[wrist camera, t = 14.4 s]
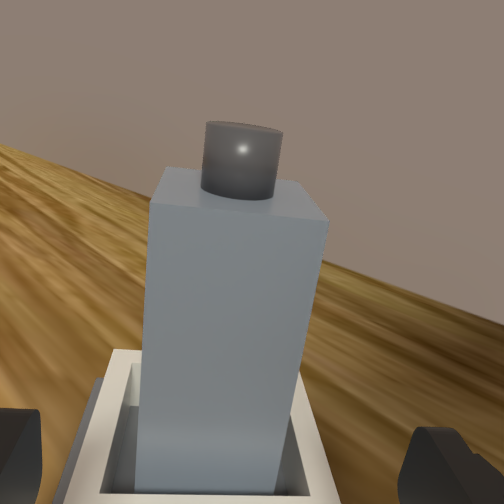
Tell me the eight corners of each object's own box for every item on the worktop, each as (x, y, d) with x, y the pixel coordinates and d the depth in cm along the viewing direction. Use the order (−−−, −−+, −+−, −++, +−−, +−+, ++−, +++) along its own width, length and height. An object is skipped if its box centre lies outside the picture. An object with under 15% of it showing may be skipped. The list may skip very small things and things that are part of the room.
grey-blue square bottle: (255, 425, 22) (306, 128, 17) (267, 521, 17) (344, 150, 12) (149, 421, 21) (170, 110, 16) (132, 520, 16) (154, 125, 11)
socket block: (299, 399, 25) (310, 349, 24) (363, 621, 15) (388, 554, 14) (96, 390, 24) (97, 336, 22) (14, 631, 13) (7, 556, 12)
